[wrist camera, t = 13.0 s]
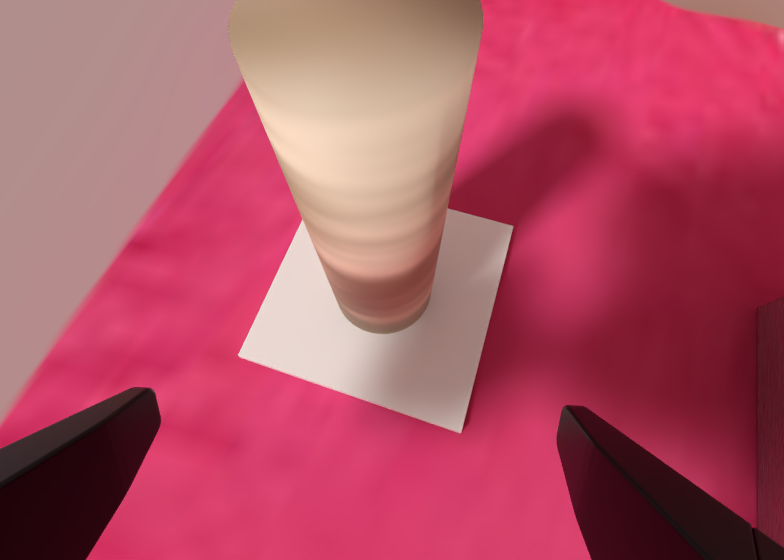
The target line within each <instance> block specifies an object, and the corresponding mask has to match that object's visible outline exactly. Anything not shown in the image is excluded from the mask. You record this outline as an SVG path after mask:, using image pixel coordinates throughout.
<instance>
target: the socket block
mask: <svg viewBox="0 0 784 560" xmlns="http://www.w3.org/2000/svg"><path fill="white" fill-rule="evenodd" d="M757 479H758V530H760V531H761V532H763V533H764V534H765V535H767V536H768V537H770V538H771V539H772V540H774V541H775V542H777V543H778V544H779V545H781V546H782V547H784V297H782V298H780V299H777V300H775V301H772V302H770V303H768V304H765V305H763V306H760V307H758V308H757Z"/></svg>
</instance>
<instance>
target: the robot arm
mask: <svg viewBox="0 0 784 560" xmlns="http://www.w3.org/2000/svg"><path fill="white" fill-rule="evenodd" d="M160 423H161V416H160V412H159V407H158V403H157V399H156V394H155V392H154V390H153V389H151V388H143V387H133V388H130V389H128V390H126V391H123V392H121V393H119V394H117V395H115V396H113V397H110V398H108V399H106V400H104V401H102V402H100V403H98V404H95V405H93V406H91V407H89V408H87V409H85V410H83V411H80V412H78V413H76V414H74V415H72V416H70V417H67V418H65V419H63V420H61V421H59V422H57V423H55V424H52V425H50V426H48V427H46V428H44V429H42V430H40V431H37V432H35V433H33V434H31V435H29V436H27V437H24V438H22V439H20V440H18V441H16V442H14V443H12V444H9V445H7V446H5V447H3V448H1V449H0V560H86V559H87V557H88V555H89V554H90V552H91V551H92V549H93V547H94V546H95V544H96V542H97V541H98V539H99V538H100V536H101V534H102V533H103V531H104V530H105V528H106V526H107V525H108V523H109V522H110V520H111V518H112V517H113V515H114V514H115V512H116V510H117V509H118V507H119V505H120V504H121V502H122V500H123V499H124V497H125V495H126V494H127V492H128V490H129V488H130V486H131V484H132V482H133V480H134V478H135V476H136V474H137V472H138V470H139V468H140V466H141V464H142V462H143V460H144V458H145V456H146V454H147V452H148V450H149V448H150V446H151V444H152V442H153V440H154V438H155V436H156V434H157V432H158V430H159V427H160ZM557 448H558V452H559V455H560V459H561V463H562V467H563V471H564V475H565V478H566V482H567V486H568V490H569V494H570V498H571V502H572V505H573V509H574V512H575V516H576V519H577V522H578V525H579V527H580V530H581V533H582V535H583V538H584V541H585V543H586V546H587V549H588V551H589V554H590V557H591V559H592V560H784V547H782V546H781V545H779V544H778V543H777V542H775V541H774V540H772V539H771V538H770V537H768V536H767V535H765V534H764V533H763V532H761V531H760V530H758V529H757V528H752V526H751V524H750V523H748V522H747V521H745V520H744V519H743V518H741V517H740V516H738V515H737V514H736V513H734V512H733V511H731V510H730V509H729V508H727V507H726V506H724V505H723V504H722V503H720V502H719V501H717V500H716V499H714V498H713V497H712V496H710V495H709V494H707V493H706V492H705V491H703V490H702V489H700V488H699V487H698V486H696V485H695V484H693V483H692V482H691V481H689V480H688V479H686V478H685V477H683V476H682V475H681V474H679V473H678V472H676V471H675V470H674V469H672V468H671V467H669V466H668V465H667V464H665V463H664V462H662V461H661V460H660V459H658V458H657V457H655V456H654V455H652V454H651V453H650V452H648V451H647V450H645V449H644V448H643V447H641V446H640V445H638V444H637V443H636V442H634V441H633V440H631V439H630V438H629V437H627V436H626V435H624V434H623V433H621V432H620V431H619V430H617V429H616V428H614V427H613V426H612V425H610V424H609V423H607V422H606V421H605V420H603V419H602V418H600V417H599V416H598V415H596V414H595V413H593V412H592V411H590V410H589V409H588V408H586V407H584V406H574V405H566V406H565V407H563V409H562V412H561V417H560V422H559V427H558V431H557Z"/></svg>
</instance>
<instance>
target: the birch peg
mask: <svg viewBox="0 0 784 560" xmlns="http://www.w3.org/2000/svg"><path fill="white" fill-rule="evenodd" d="M482 29H483V11H482V5H481V2H480V0H236V1H235V3H234V6H233V8H232V11H231V14H230V19H229V40H230V44H231V49H232V51H233V54H234V56H235V59H236V61H237V63H238V66H239V68H240V70H241V73H242V75H243V78H244V80H245V82H246V85H247V87H248V90H249V92H250V94H251V97H252V99H253V102H254V104H255V106H256V109H257V111H258V114H259V116H260V118H261V121H262V123H263V126H264V128H265V130H266V133H267V135H268V138H269V140H270V142H271V145H272V147H273V150H274V152H275V154H276V157H277V159H278V162H279V164H280V166H281V169H282V171H283V173H284V176H285V178H286V181H287V183H288V185H289V188H290V190H291V193H292V195H293V197H294V200H295V202H296V205H297V207H298V209H299V212H300V214H301V217H302V219H303V221H304V224H305V226H306V229H307V231H308V233H309V236H310V238H311V241H312V243H313V245H314V248H315V250H316V253H317V255H318V257H319V260H320V262H321V264H322V267H323V269H324V272H325V274H326V276H327V279H328V281H329V284H330V286H331V288H332V291H333V293H334V296H335V298H336V300H337V303H338V305H339V307H340V310H341V311H342V313H343V315H344V316H345V317H346V318H347V319H348V320H349V321H350V322H351V323H352V324H353V325H355V326H356V327H358V328H360V329H362V330H364V331H367V332H370V333H375V334H390V333H395V332H399V331H402V330H404V329H406V328H408V327H409V326H411V325H412V324H414V323H415V322H416V321H417V320H418V319H419V318H420V317H421V316H422V314H423V313H424V312H425V310H426V308H427V306H428V303H429V301H430V296H431V291H432V286H433V281H434V275H435V270H436V265H437V260H438V255H439V250H440V245H441V240H442V234H443V229H444V224H445V219H446V214H447V209H448V204H449V198H450V193H451V188H452V183H453V178H454V173H455V168H456V163H457V157H458V152H459V147H460V142H461V137H462V132H463V127H464V122H465V116H466V111H467V106H468V101H469V96H470V91H471V86H472V81H473V75H474V70H475V65H476V60H477V55H478V50H479V45H480V40H481V34H482Z"/></svg>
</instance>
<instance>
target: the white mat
mask: <svg viewBox="0 0 784 560" xmlns="http://www.w3.org/2000/svg"><path fill="white" fill-rule="evenodd" d="M512 230H513V226H512V225H508V224H504V223H500V222H497V221H493V220H489V219H486V218H482V217H478V216H474V215H471V214H467V213H463V212H460V211H456V210H452V209H447V214H446V219H445V224H444V229H443V234H442V240H441V245H440V250H439V255H438V260H437V265H436V270H435V275H434V281H433V286H432V291H431V296H430V301H429V303H428V306H427V308H426V310H425V312H424V313H423V314H422V316H421V317H420V318H419V319H418V320H417V321H416V322H415V323H414V324H412V325H411V326H409V327H408V328H406V329H404V330H402V331H399V332H395V333H390V334H375V333H370V332H367V331H364V330H362V329H360V328H358V327H356V326H355V325H353V324H352V323H351V322H350V321H349V320H348V319H347V318H346V317H345V316H344V315H343V313H342V311H341V310H340V307H339V305H338V303H337V300H336V298H335V296H334V293H333V291H332V288H331V286H330V284H329V281H328V279H327V276H326V274H325V272H324V269H323V267H322V264H321V262H320V260H319V257H318V255H317V253H316V250H315V248H314V245H313V243H312V241H311V238H310V236H309V233H308V231H307V229H306V226H305V224H304V221H303V220H302V222H301V224H300V226H299V228H298V230H297V232H296V235H295V237H294V239H293V241H292V243H291V245H290V247H289V249H288V251H287V253H286V256H285V258H284V260H283V262H282V264H281V266H280V268H279V270H278V272H277V274H276V277H275V279H274V281H273V283H272V285H271V287H270V289H269V291H268V293H267V295H266V298H265V300H264V302H263V304H262V306H261V308H260V310H259V312H258V314H257V317H256V319H255V321H254V323H253V325H252V327H251V329H250V331H249V333H248V335H247V338H246V340H245V342H244V344H243V346H242V348H241V350H240V352H239V354H238V356H239V357H240V358H242V359H245V360H248V361H251V362H254V363H257V364H260V365H263V366H266V367H268V368H271V369H274V370H277V371H280V372H283V373H286V374H289V375H292V376H295V377H297V378H300V379H303V380H306V381H309V382H312V383H315V384H318V385H321V386H324V387H326V388H329V389H332V390H335V391H338V392H341V393H344V394H347V395H350V396H353V397H355V398H358V399H361V400H364V401H367V402H370V403H373V404H376V405H379V406H382V407H384V408H387V409H390V410H393V411H396V412H399V413H402V414H405V415H408V416H411V417H413V418H416V419H419V420H422V421H425V422H428V423H431V424H434V425H437V426H440V427H442V428H445V429H448V430H451V431H454V432H457V433H461V432H462V428H463V424H464V420H465V416H466V412H467V408H468V404H469V400H470V396H471V392H472V388H473V384H474V380H475V376H476V373H477V369H478V365H479V361H480V357H481V353H482V349H483V345H484V341H485V337H486V333H487V329H488V325H489V321H490V317H491V313H492V309H493V305H494V301H495V297H496V294H497V290H498V286H499V282H500V278H501V274H502V270H503V266H504V262H505V258H506V254H507V250H508V246H509V242H510V238H511V234H512Z"/></svg>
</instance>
